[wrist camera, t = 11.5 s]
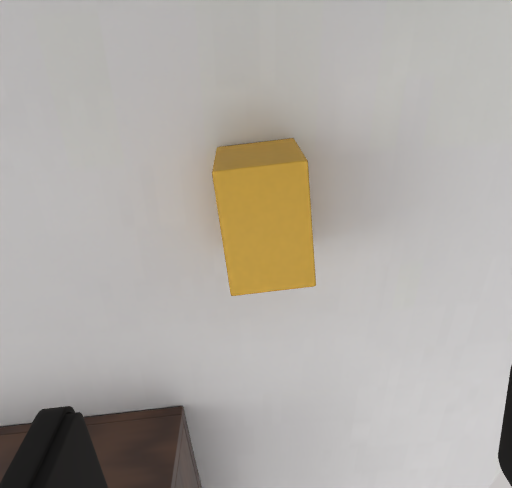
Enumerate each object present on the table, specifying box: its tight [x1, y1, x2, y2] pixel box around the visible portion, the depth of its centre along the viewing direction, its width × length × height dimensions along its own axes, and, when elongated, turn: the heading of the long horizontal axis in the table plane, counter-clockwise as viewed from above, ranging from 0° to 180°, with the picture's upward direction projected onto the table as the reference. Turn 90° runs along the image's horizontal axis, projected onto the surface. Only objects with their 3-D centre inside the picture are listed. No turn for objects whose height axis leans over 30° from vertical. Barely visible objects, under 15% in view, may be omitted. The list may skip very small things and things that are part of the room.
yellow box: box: [212, 138, 316, 296], centre depth 22 cm, size 6×4×5 cm, turn 6°
